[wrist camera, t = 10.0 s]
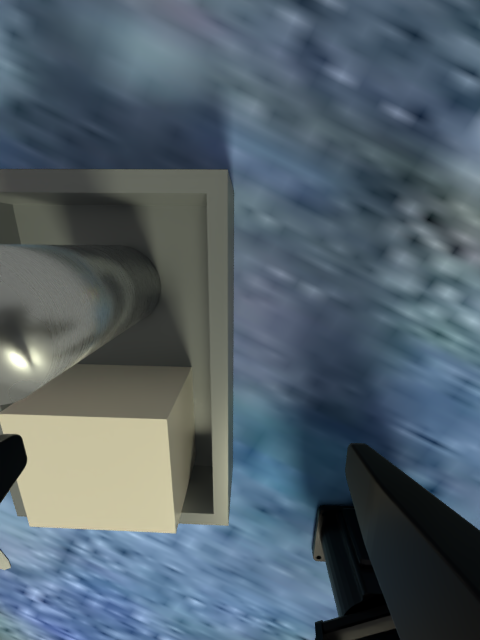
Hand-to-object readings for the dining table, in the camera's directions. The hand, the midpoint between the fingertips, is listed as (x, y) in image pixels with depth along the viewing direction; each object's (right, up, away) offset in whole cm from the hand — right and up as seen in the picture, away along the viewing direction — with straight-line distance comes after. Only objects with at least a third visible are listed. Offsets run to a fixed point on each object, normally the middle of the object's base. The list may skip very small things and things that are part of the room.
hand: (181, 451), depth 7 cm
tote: (-6, +1, +13) cm, 14 cm away
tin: (-6, +6, +10) cm, 14 cm away
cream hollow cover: (-6, -4, +13) cm, 15 cm away
